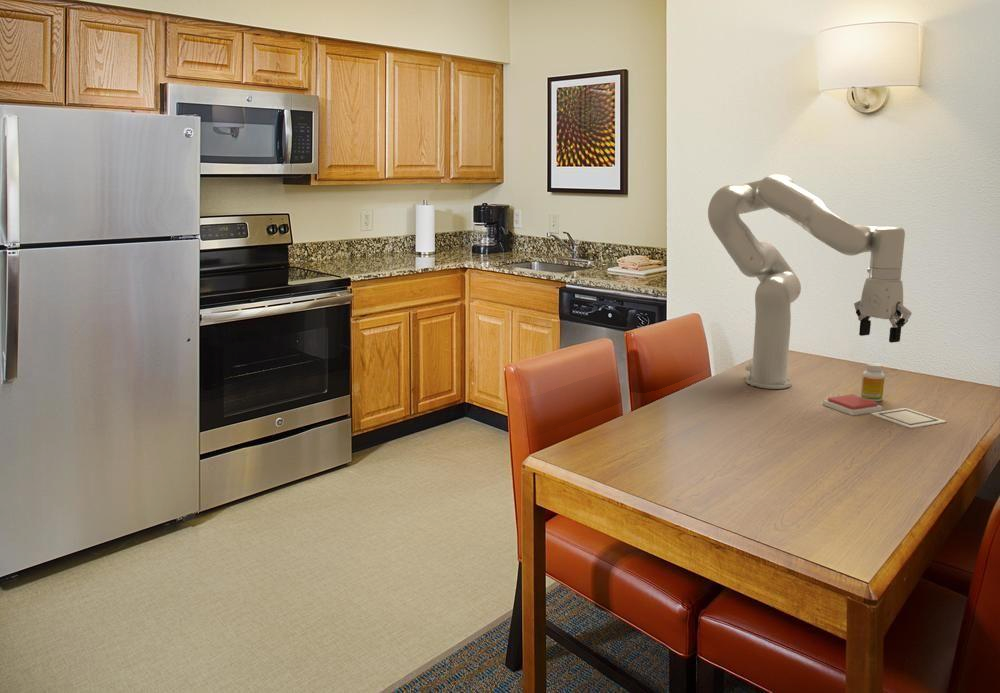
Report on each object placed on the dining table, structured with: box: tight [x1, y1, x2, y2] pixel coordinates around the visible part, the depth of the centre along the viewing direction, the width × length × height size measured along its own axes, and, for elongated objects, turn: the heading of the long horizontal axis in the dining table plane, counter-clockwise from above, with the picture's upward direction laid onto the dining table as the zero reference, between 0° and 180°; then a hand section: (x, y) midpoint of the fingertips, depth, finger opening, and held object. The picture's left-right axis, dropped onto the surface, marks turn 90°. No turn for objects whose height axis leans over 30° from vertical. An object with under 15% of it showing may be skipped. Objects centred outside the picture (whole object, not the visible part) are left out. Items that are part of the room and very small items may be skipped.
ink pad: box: [822, 394, 883, 416], centre depth 202 cm, size 10×10×2 cm
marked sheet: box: [870, 407, 948, 429], centre depth 193 cm, size 12×12×1 cm
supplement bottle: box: [859, 362, 885, 403], centre depth 208 cm, size 5×5×10 cm
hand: (879, 338), depth 205 cm, fingers open, 9 cm apart
